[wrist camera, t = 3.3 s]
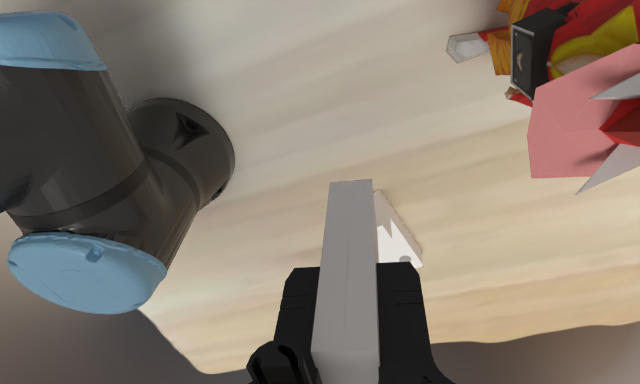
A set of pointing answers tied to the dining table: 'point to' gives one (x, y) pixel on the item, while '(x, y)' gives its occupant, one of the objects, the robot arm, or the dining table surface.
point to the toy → (570, 82)
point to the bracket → (394, 235)
